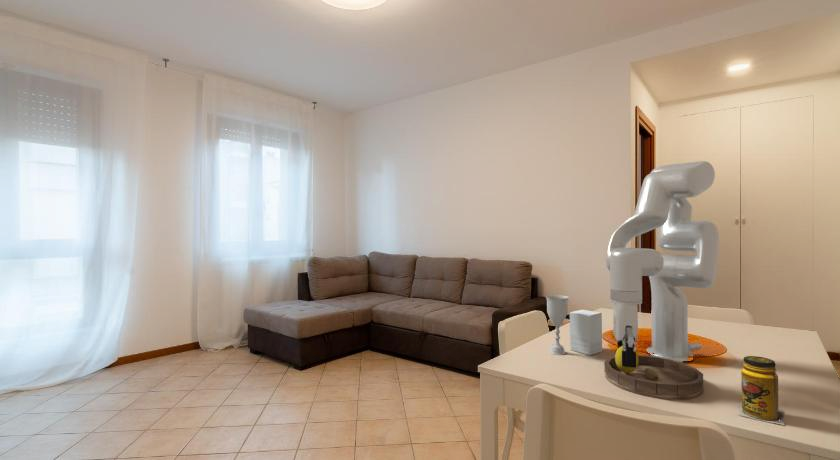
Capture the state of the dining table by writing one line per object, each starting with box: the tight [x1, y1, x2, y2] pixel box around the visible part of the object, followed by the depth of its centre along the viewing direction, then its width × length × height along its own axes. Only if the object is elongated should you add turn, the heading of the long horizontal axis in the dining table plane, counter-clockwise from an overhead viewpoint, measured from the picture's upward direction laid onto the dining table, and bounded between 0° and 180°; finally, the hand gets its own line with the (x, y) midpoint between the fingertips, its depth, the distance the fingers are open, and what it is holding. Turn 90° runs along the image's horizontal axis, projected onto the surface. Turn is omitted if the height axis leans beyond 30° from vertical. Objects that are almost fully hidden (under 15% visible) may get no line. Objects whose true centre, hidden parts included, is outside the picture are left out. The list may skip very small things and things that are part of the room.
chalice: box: [544, 294, 570, 356], centre depth 129 cm, size 7×7×18 cm
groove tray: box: [603, 354, 704, 401], centre depth 105 cm, size 22×22×4 cm
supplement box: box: [569, 309, 603, 356], centre depth 131 cm, size 7×7×13 cm
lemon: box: [614, 345, 639, 374], centre depth 107 cm, size 6×6×8 cm
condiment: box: [738, 355, 785, 426], centre depth 86 cm, size 7×8×12 cm
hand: (626, 360), depth 107 cm, fingers open, 9 cm apart
